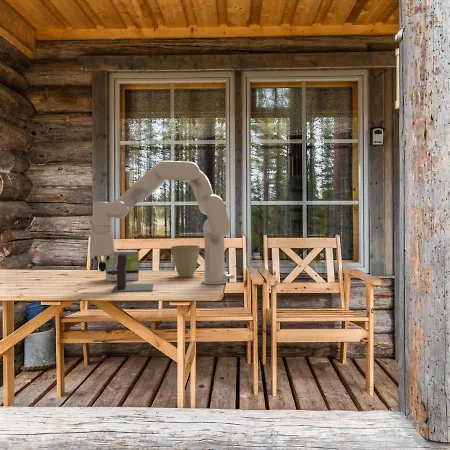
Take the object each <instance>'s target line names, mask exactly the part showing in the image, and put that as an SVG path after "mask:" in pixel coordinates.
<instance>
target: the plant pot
mask: <svg viewBox="0 0 450 450" xmlns="http://www.w3.org/2000/svg"><path fill="white" fill-rule="evenodd" d="M200 247H201V246H200V245H197V244H196V245H194V244H191V245H188V244H186V245H185V244H182V245H181V244H179V245H172V246H171V254H172V259H173V263H174V267H175V269H176V272H177V275H178V278H179V277H180V278H191V277H193V276H194V275H195V270H196V269H197V268H196V267H197V265H198V260H199V254H200Z"/></svg>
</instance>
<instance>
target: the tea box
mask: <svg viewBox="0 0 450 450" xmlns="http://www.w3.org/2000/svg"><path fill="white" fill-rule="evenodd" d="M119 253H127V258H128V260H127V263H126V282H128V281H139V276H140V275H139V273H140V269H139V267H140V266H139V262H140V260H139V259H140V252H139V251H138V250H137V249H114V255H115V257H114V258H110V259H108V260H107V261H106V269H105V279H106V280H107V282H117V279H116V278H117V256H118V254H119Z"/></svg>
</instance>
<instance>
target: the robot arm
mask: <svg viewBox="0 0 450 450" xmlns="http://www.w3.org/2000/svg"><path fill="white" fill-rule="evenodd" d="M168 180H169V181H181V182H186V183H187V184H189V185H190V187H191V188H192V190H193V193H194V196H195V198H196V203H197V205H198V210H199V212H200V213H201V214H203V215H205V216H206V217H207V219H206V220H205V221H204V223H203V229H202V230H203V232H202V233H203V238H204V241H203V242H204V278H202V279H201V280H200V281H201V283H202V284H205V285H223V284H227V283H228V280H229V279H232V280H233V279H235V274H227V273H226V272H225V239H224V238H225V237H226V236H228V235H229V233H230V232H231V222H230V219H229V218H230V217H229V215H228V212H227V208H226V206H225V203H224V201H223V199H222V198H221V197H220V196H219V195H216V194H214V190H213V189H212V185H211V183H210V181H209V178H208V177H207V175H206V174H205V173H204V172H203V171H201V170H200V167H199V165H198V164H196V163H195V162H192V161H176V160H174V161H173V160H162V161H159V162H158V163H156V164H155V165H154V166H153V167H151V168H150V169H149V170H147V172H145V173H144V174H143V175H142V176H141V177H139V179H137V180H136V181H135V182H134V183H133V184H132V185H131V186H130V187H129V188H128V189H127V190H126V191H124V193H122V194H121V195H120V196H119V197H118V198H117V199H115V200H114V201H112V202H111V201H109V202H108V201H94V202H93V204H92V226H90V227H89V231H92V232H91V233H90V238H89V258H90V259H93V260H95V261H96V262H97V264H98V270H99V272H101V273H102V272H103V273H104V272H106V261H107V260H108V259H110V258H114V257H115V255H114V250H115V242H114V236H113V232H112V231H111V230H112V227H111V226H112V223H111V222H112V221H111V218H115V219H116V218H117V219H124V218H125V217H126V216H128V214H129V212H130V211H131V209H132V208H134V207H135V206H136V205H137V204H139V203H140V202H141V201H143V200H145V199H147V198H148V197H150V196H151V195H152V194H153V193H154V192H155V191H156V190H157V189H158V188H160V187H161V186H162V185H163V184H164V183H165V182H166V181H168ZM102 257H103V260H102Z"/></svg>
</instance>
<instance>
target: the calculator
mask: <svg viewBox="0 0 450 450" xmlns="http://www.w3.org/2000/svg"><path fill="white" fill-rule="evenodd" d="M127 260H128V258H127V253H119V254H118V256H117V278H116V279H117V281H116V285H117V288H118V289H125V288H126V284H127V281H126V263H127Z"/></svg>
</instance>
